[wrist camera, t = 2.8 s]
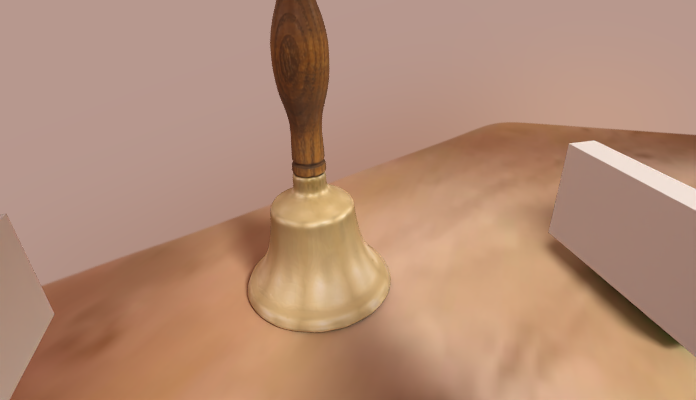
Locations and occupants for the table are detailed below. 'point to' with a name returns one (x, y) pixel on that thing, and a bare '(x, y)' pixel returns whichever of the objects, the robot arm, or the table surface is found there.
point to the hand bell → (312, 201)
